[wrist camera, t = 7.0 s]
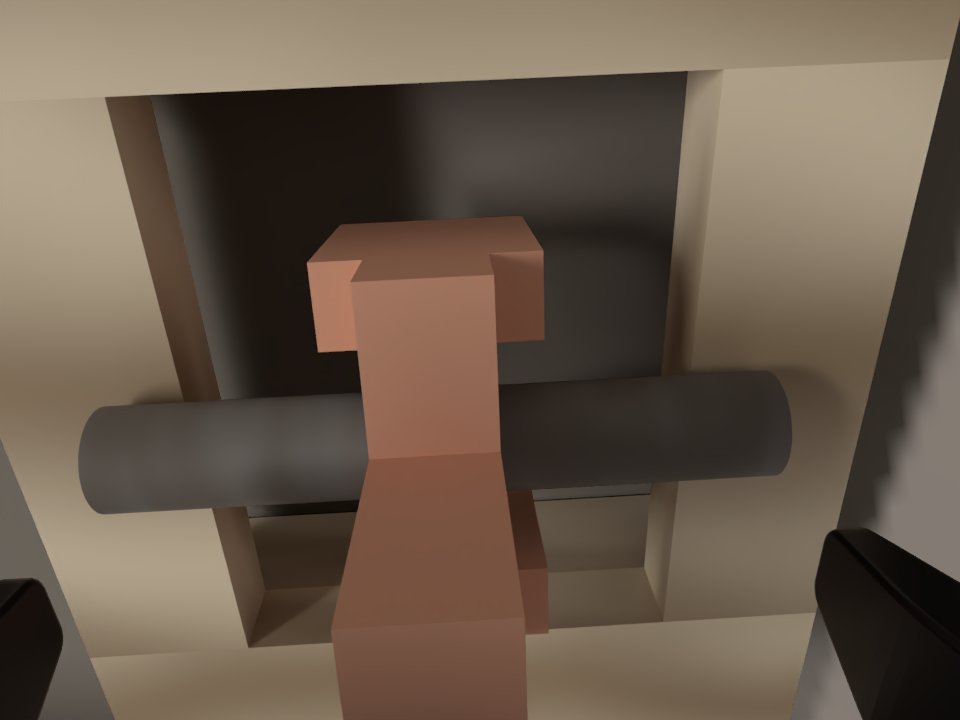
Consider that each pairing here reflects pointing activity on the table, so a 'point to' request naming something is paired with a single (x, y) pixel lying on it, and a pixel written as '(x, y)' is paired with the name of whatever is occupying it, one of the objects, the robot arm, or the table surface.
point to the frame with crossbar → (522, 407)
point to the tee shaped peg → (434, 467)
